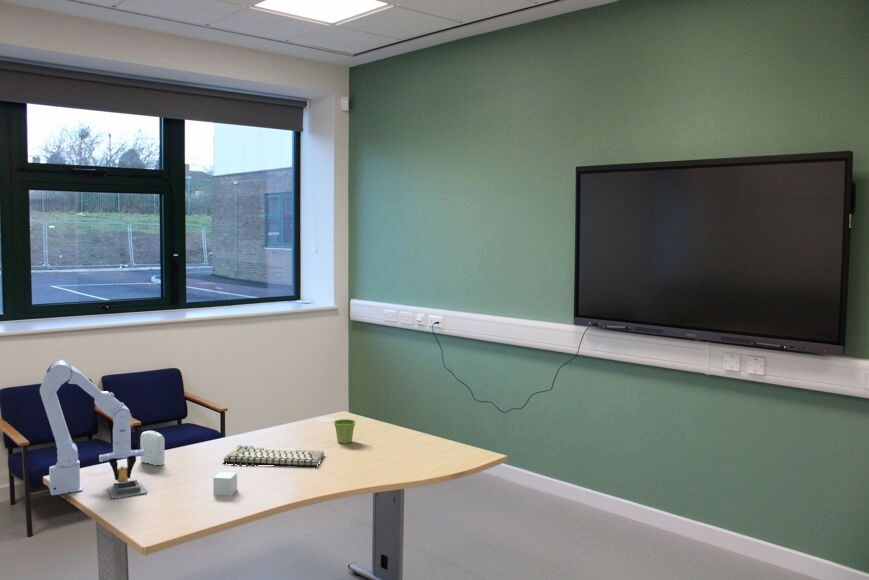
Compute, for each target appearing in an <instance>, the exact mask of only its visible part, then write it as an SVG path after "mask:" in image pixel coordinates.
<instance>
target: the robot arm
mask: <svg viewBox="0 0 869 580" xmlns="http://www.w3.org/2000/svg"><path fill="white" fill-rule="evenodd" d="M65 383H67V384H71V385H77V386H78V387H80V388H81V389H83V391H84V392H86V393H87V394H88V395H90V396H91V397H92V398H93V399H94V404H95V406H97V407H98V408H99V409H100V410H101V411H102V412H104V413H105V415H106V416H108V417H111V418H112V422H113V427H112V452H109V453H104V454H99V455H98V458H99V459H98V461H99V462H100V463H103V462H105V461H108V463H109V465H110V467H111V469H112V471H113V475H114V479H115V481H117V480H118V473H117V468H118V465H119V464H118V463H119V462H118V460H121V459H126V464H127V465H126V467H127V468H128V479H131V475H132V470H133V469H134V466H135V464H136V462H137V457H141V456H145V451H144V449H142V450H141V449H132V443H131V442H132V441H131V440H132V439H131V433H132V432H131V421H132V418H133V417H132V413H131V412H130V411H131V410H130V409H129V407H127V405H126V404H124V402H123V401H122V402H121V401H120V400H118V399H117V398H116V397H115V394H114V393H113V392H112V391H111V392H109V391H107V390H105V391H103V390H101V389H100V388H98V386H96V385H95V384H94V382H92V381H91V380H90V379H89V378H88V377H87V376H86V375H84V373H82V372H81V371H80V370H79V369H77V368H76V367H75V366H73V365H72V364H70V363H69V362H68V361H66V360H63V359H59V360H58V359H57V360H55V361H53V362H51V364H50V365H49V366H48V368H47V369H46V371H45V375H44V376H43V379H42V382H41V385H40V387H39V395H40V397H41V401H42V404H43V406H44V410H45V414H46V416H47V419H48V421H49V425H50V428H51V432H52V436H53V437H54V440H55V441H54V442H55V445H56V448H57V449H56V454H57V459H56V460H57V462H56V463H55V464H54V465H52V466H49V467H48V468H49V469H48V471H49V473H48V475H49V480H48V481H49V483H48V489H49V492H50V495H51V496H57V495H65V494H69V493H68V492H71V493H77V492H82V491H83V487H82V484H81V471H80V469H81V466H80V463H81V462H80V460H79V453H78V446H77V444H76V443H74V441H73V439H72V437H71V434H70V431H69V429H68V426H67V422H66V420H65V416H64V412H63V410H62V407H61V404H60V400H59V397H58V394H57V392H58V390H59V389H60V387H61V386H62V385H64V384H65ZM76 491H77V492H76Z"/></svg>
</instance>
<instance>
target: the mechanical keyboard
mask: <svg viewBox="0 0 869 580" xmlns="http://www.w3.org/2000/svg"><path fill="white" fill-rule="evenodd" d="M324 456H325V453H324V450H316V451H315V450H314V449H313V450H309V449H308V450H305V449H298V450H297V449H294V448H292V449H291V448H280V447H279V448H277V447H265V448H263V447H256V448H255V446H254V445H249V446H248V445H241V444H240V445H239V444H238V445H237V446H235V447H234V449H232V451H230V452H229V453H228V454H226V456H224V458H223V462H222V465H225V464H226V463H227V464H233V465H231V467H236V466H235V464H237V465H239V466H238V467H243V466H242V465H246V466H245V467H248V466H250V465H251V466H252V468H253V467H254V466H255V465H256V466H258V465H274V466H278V467H284V466H292V468H314V467H317V464H318V463H319V461H320V460H322V461H323V458H324ZM251 466H250V468H251ZM293 466H295V467H293ZM254 468H255V467H254Z"/></svg>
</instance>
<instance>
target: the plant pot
mask: <svg viewBox="0 0 869 580" xmlns="http://www.w3.org/2000/svg"><path fill="white" fill-rule="evenodd" d="M356 423H357V421H356V420H354V419H351V418H350V419H349V418H348V419H347V418H346V419H342V418H341V419H337V420H334V421H333V425H334V428H335V431H336V432H335V434H336V439H337V440H336V441H337V443H338V444H343V445H345V444H350V443H352V442H353V435H354V428H355V425H356Z"/></svg>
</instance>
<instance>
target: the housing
mask: <svg viewBox="0 0 869 580" xmlns="http://www.w3.org/2000/svg"><path fill="white" fill-rule="evenodd" d="M107 488H108V489H107ZM107 488H106V489H107V492H108V491H109V492H108V494H109V493H110V494H109V496H111V497H110V499H111V498H112V499H111V500H114V499H113V498H118V499H120V498H119V497H124V498H127V497H126V496H130V497H134V496H133V495H136V496H140V495H139V494H143V495H146V494H145V493H147V494H148V491H147V489H146V488H145V485H144V484H143V482H142V481H140V482H139V481H138V480H137V479H135V480H128V481H127V482H120V483H117V482H115V483H113V485H112V486H107Z"/></svg>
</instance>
